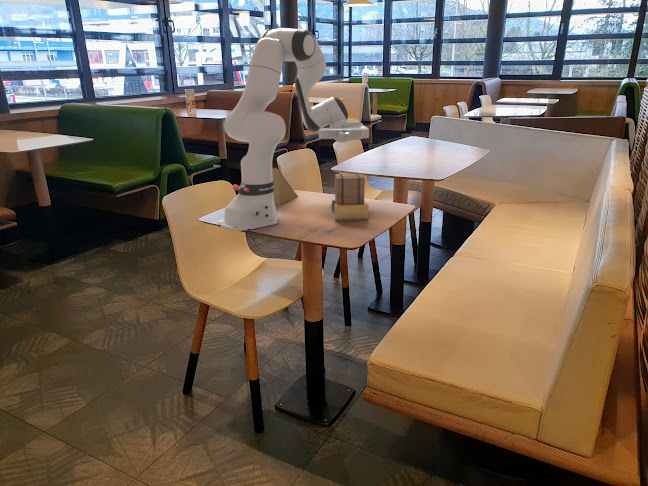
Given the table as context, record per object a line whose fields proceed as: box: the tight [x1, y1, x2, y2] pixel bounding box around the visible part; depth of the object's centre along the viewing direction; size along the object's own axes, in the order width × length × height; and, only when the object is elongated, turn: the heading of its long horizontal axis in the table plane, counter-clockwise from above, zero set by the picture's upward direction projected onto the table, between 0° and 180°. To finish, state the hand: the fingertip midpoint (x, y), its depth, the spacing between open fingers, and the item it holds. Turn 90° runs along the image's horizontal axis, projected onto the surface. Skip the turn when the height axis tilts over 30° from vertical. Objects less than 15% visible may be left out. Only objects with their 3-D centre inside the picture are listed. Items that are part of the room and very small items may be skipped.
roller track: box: [330, 199, 369, 223], centre depth 188 cm, size 22×12×6 cm, turn 4°
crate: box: [334, 173, 366, 204], centre depth 182 cm, size 8×10×12 cm
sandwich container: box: [272, 167, 299, 205], centre depth 208 cm, size 9×15×15 cm, turn 152°
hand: (345, 135), depth 190 cm, fingers closed
